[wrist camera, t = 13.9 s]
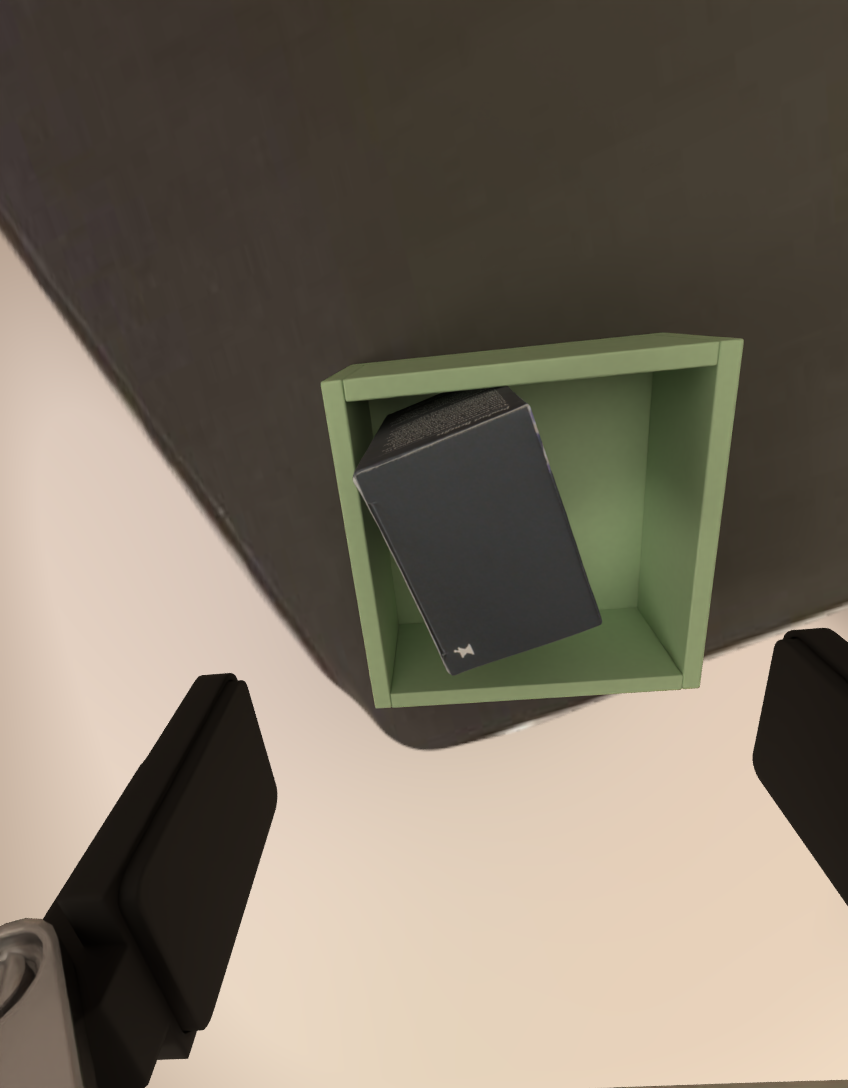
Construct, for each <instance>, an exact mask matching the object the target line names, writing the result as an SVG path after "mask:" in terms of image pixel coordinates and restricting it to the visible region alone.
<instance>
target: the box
mask: <svg viewBox="0 0 848 1088" xmlns="http://www.w3.org/2000/svg"><path fill="white" fill-rule="evenodd" d="M353 482H354V484H355V486H356V487H357V489H358V490H359V492H360V494H361V495H362V497H363V499H364V501H365V502H366V504H367V506H368V508H369V510H370V512H371V514H372V516H373V518H374V520H375V522H376V523H377V525H378V527H379V529H380V531H381V534H382V536H383V538H384V540H385V542H386V544H387V546H388V548H389V550H390V552H391V554H392V556H393V558H394V559H395V561H396V563H397V565H398V567H399V569H400V571H401V573H402V575H403V578H404V580H405V582H406V584H407V586H408V588H409V590H410V592H411V595H412V597H413V599H414V601H415V603H416V605H417V607H418V609H419V611H420V613H421V615H422V617H423V619H424V622H425V624H426V626H427V628H428V630H429V632H430V635H431V637H432V639H433V641H434V643H435V646H436V648H437V650H438V652H439V654H440V657H441V659H442V662H443V664H444V666H445V668H446V670H447V672H448V673H449V674H451V675H452V676H455V675H458V674H460V673H463V672H465V671H468V670H471V669H474V668H476V667H479V666H483V665H486V664H488V663H491V662H494V661H497V660H500V659H504V658H507V657H510V656H513V655H516V654H519V653H522V652H526V651H528V650H531V649H534V648H537V647H540V646H544V645H547V644H550V643H553V642H556V641H559V640H562V639H564V638H567V637H570V636H573V635H576V634H579V633H581V632H584V631H587V630H589V629H592V628H594V627H597V626H599V625H601V624H602V618H601V615H600V612H599V609H598V605H597V603H596V600H595V597H594V594H593V592H592V589H591V586H590V584H589V580H588V577H587V574H586V571H585V568H584V566H583V562H582V559H581V556H580V553H579V550H578V547H577V544H576V541H575V538H574V535H573V532H572V529H571V526H570V523H569V520H568V517H567V513H566V511H565V508H564V505H563V502H562V499H561V496H560V493H559V491H558V488H557V485H556V482H555V479H554V476H553V473H552V471H551V468H550V464H549V461H548V458H547V455H546V452H545V449H544V447H543V443H542V440H541V437H540V434H539V431H538V428H537V425H536V422H535V419H534V416H533V413H532V410H531V407H530V405H529V404H528V403H526V402H525V401H523V399H521V398H520V397H519V396H518V395H517V394H516V393H515V392H514V391H512V390H511V389H510V388H509V387H508V386H504V387H494V388H483V389H473V390H463V391H453V392H443V393H440V394H438V395H435V396H433V397H430V398H428V399H425V400H423V401H421V402H418V403H416V404H413V405H411V406H409V407H406V408H404V409H401V410H399V411H396V412H394V413H392V414H388V415H387V416H386V418H385V419H384V421H383V423H382V425H381V426H380V428H379V430H378V432H377V433H376V434H375V436H374V438H373V440H372V442H371V444H370V445H369V447H368V449H367V451H366V452H365V454H364V456H363V457H362V459H361V460H360V462H359V464H358V466H357V468H356V469H355V471H354V474H353Z"/></svg>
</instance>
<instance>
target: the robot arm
mask: <svg viewBox="0 0 848 1088" xmlns="http://www.w3.org/2000/svg"><path fill="white" fill-rule="evenodd" d="M753 766H754V769H755V772H756V774H757V776H758V778H759V780H760V781H761V782H762V784H763V785H764V787H765V788H766V790H767V791H768V793H769V794H770V795H771V797H772V798H773V800H774V801H775V803H776V804H777V805H778V807H779V808H780V810H781V811H782V812H783V814H784V815H785V817H786V818H787V820H788V821H789V823H790V824H791V825H792V827H793V828H794V830H795V831H796V833H797V834H798V835H799V837H800V838H801V839H802V841H803V843H804V844H805V845H806V847H807V848H808V850H809V851H810V852H811V854H812V855H813V857H814V858H815V860H816V861H817V862H818V864H819V865H820V867H821V868H822V870H823V871H824V873H825V874H826V876H827V877H828V878H829V880H830V881H831V883H832V884H833V886H834V887H835V888H836V890H837V891H838V893H839V894H840V896H841V897H842V898H843V900H844V901H845V903H846V904H847V906H848V642H847V641H845V640H844V639H843V638H842V637H841V636H839V635H838V634H837V633H835V632H834V631H832V630H831V629H828V628H816V629H803V630H791V631H788V632H787V633H786V634H785V635H784V638H783V640H779V641H777V642H776V644H775V646H774V651H773V656H772V661H771V666H770V671H769V676H768V681H767V686H766V691H765V696H764V701H763V706H762V711H761V716H760V721H759V726H758V731H757V736H756V741H755V746H754V751H753ZM276 804H277V787H276V783H275V780H274V777H273V773H272V769H271V766H270V762H269V759H268V756H267V752H266V749H265V746H264V742H263V738H262V735H261V731H260V728H259V725H258V721H257V718H256V714H255V711H254V707H253V704H252V700H251V697H250V693H249V690H248V687H247V684H246V683H245V681H243V680H240V681H238V680H237V678H236V676H235V675H234V674H232V673H225V674H212V675H202V676H199V677H198V678H197V679H196V680H195V682H194V683H193V685H192V686H191V688H190V690H189V691H188V693H187V695H186V696H185V698H184V699H183V701H182V702H181V704H180V706H179V707H178V709H177V710H176V712H175V714H174V715H173V717H172V718H171V720H170V721H169V723H168V725H167V726H166V728H165V729H164V731H163V733H162V734H161V736H160V737H159V739H158V741H157V742H156V744H155V745H154V747H153V749H152V750H151V752H150V753H149V755H148V756H147V758H146V759H145V760H144V762H143V763H142V764H141V765H140V767H139V768H138V770H137V771H136V773H135V775H134V776H133V778H132V779H131V781H130V782H129V784H128V786H127V787H126V789H125V790H124V792H123V794H122V795H121V797H120V798H119V800H118V801H117V803H116V804H115V806H114V808H113V809H112V811H111V812H110V814H109V816H108V817H107V819H106V820H105V822H104V823H103V825H102V827H101V828H100V830H99V831H98V833H97V835H96V836H95V838H94V839H93V841H92V842H91V844H90V845H89V847H88V849H87V850H86V852H85V853H84V855H83V857H82V858H81V860H80V861H79V863H78V865H77V866H76V868H75V869H74V871H73V872H72V874H71V876H70V877H69V879H68V880H67V882H66V884H65V885H64V887H63V888H62V890H61V891H60V893H59V895H58V896H57V898H56V899H55V901H54V902H53V904H52V906H51V907H50V909H49V910H48V912H47V913H46V915H45V917H44V918H43V920H42V919H32V918H31V919H30V918H25V919H20V920H17V921H13V922H9V923H6V924H4V925H2V926H0V1088H145V1087H146V1086H147V1085H148V1083H149V1081H150V1078H151V1075H152V1072H153V1070H154V1067H155V1064H156V1061H157V1060H163V1059H188V1057H189V1054H190V1051H191V1048H192V1045H193V1042H194V1038H195V1035H196V1032H197V1031H198V1030H204V1029H205V1028H206V1027H207V1025H208V1023H209V1022H210V1019H211V1017H212V1014H213V1011H214V1008H215V1005H216V1001H217V998H218V994H219V992H220V988H221V985H222V982H223V979H224V975H225V972H226V969H227V965H228V962H229V959H230V956H231V953H232V949H233V946H234V943H235V940H236V936H237V933H238V930H239V927H240V923H241V920H242V917H243V913H244V910H245V907H246V904H247V900H248V897H249V894H250V891H251V888H252V884H253V881H254V878H255V874H256V871H257V868H258V864H259V862H260V858H261V855H262V852H263V849H264V845H265V842H266V839H267V836H268V832H269V829H270V826H271V823H272V819H273V816H274V813H275V810H276ZM616 1088H848V1080H829V1081H794V1082H763V1083H761V1082H760V1083H730V1084H703V1085H674V1086H646V1087H645V1086H644V1087H616Z"/></svg>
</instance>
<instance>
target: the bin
mask: <svg viewBox="0 0 848 1088" xmlns="http://www.w3.org/2000/svg"><path fill="white" fill-rule="evenodd" d="M743 343H744V341H743V339H740V338H727V337H714V336H701V335H688V334H675V333H654V334H644V335H634V336H625V337H615V338H605V339H596V340H586V341H576V342H567V343H557V344H547V345H538V346H528V347H518V348H509V349H499V350H489V351H479V352H470V353H460V354H450V355H441V356H431V357H421V358H412V359H402V360H392V361H383V362H373V363H363V364H354V365H350V366H348V367H347V368H345V369H343V370H341V371H340V372H338V373H336V374H334V375H333V376H331V377H329V378H327V379H326V380H324V381H322V382H321V390H322V395H323V401H324V407H325V413H326V419H327V425H328V431H329V437H330V443H331V449H332V455H333V460H334V466H335V472H336V478H337V484H338V490H339V496H340V502H341V508H342V514H343V520H344V526H345V531H346V537H347V543H348V549H349V555H350V561H351V567H352V573H353V579H354V585H355V591H356V596H357V602H358V608H359V614H360V620H361V626H362V632H363V638H364V644H365V650H366V656H367V661H368V667H369V673H370V679H371V685H372V691H373V697H374V703H375V707H376V708H389V707H393V708H395V707H411V706H427V705H443V704H459V703H475V702H491V701H507V700H523V699H539V698H555V697H571V696H587V695H603V694H619V693H635V692H650V691H667V690H681V689H682V688H683V689H692V688H699V687H700V680H701V672H702V665H703V657H704V649H705V641H706V633H707V625H708V618H709V610H710V602H711V594H712V586H713V578H714V570H715V563H716V555H717V547H718V539H719V531H720V523H721V516H722V508H723V500H724V492H725V484H726V476H727V469H728V461H729V453H730V445H731V437H732V429H733V422H734V414H735V406H736V398H737V390H738V382H739V375H740V367H741V359H742V351H743ZM504 386H508V387H509V388H510V389H511V390H512V391H514V392H515V393H516V394H517V395H518V396H519V397H520V398H521V399H523V401H525V402H526V403H528V404H529V405H530V407H531V410H532V413H533V416H534V419H535V422H536V425H537V428H538V431H539V434H540V437H541V440H542V443H543V447H544V449H545V452H546V455H547V458H548V461H549V464H550V468H551V471H552V473H553V476H554V479H555V482H556V485H557V488H558V491H559V493H560V496H561V499H562V502H563V505H564V508H565V511H566V513H567V517H568V520H569V523H570V526H571V529H572V532H573V535H574V538H575V541H576V544H577V547H578V550H579V553H580V556H581V559H582V562H583V566H584V568H585V571H586V574H587V577H588V580H589V584H590V586H591V589H592V592H593V594H594V597H595V600H596V603H597V605H598V609H599V612H600V615H601V618H602V624H601V625H599V626H597V627H594V628H592V629H589V630H587V631H584V632H581V633H579V634H576V635H573V636H570V637H567V638H564V639H562V640H559V641H556V642H553V643H550V644H547V645H544V646H540V647H537V648H534V649H531V650H528V651H526V652H522V653H519V654H516V655H513V656H510V657H507V658H504V659H500V660H497V661H494V662H491V663H488V664H486V665H483V666H479V667H476V668H474V669H471V670H468V671H465V672H463V673H460V674H458V675H455V676H452V675H451V674H449V673H448V672H447V670H446V668H445V666H444V664H443V662H442V659H441V657H440V654H439V652H438V650H437V648H436V646H435V643H434V641H433V639H432V637H431V635H430V632H429V630H428V628H427V626H426V624H425V622H424V619H423V617H422V615H421V613H420V611H419V609H418V607H417V605H416V603H415V601H414V599H413V597H412V595H411V592H410V590H409V588H408V586H407V584H406V582H405V580H404V578H403V575H402V573H401V571H400V569H399V567H398V565H397V563H396V561H395V559H394V558H393V556H392V554H391V552H390V550H389V548H388V546H387V544H386V542H385V540H384V538H383V536H382V534H381V531H380V529H379V527H378V525H377V523H376V522H375V520H374V518H373V516H372V514H371V512H370V510H369V508H368V506H367V504H366V502H365V501H364V499H363V497H362V495H361V494H360V492H359V490H358V489H357V487H356V486H355V484H354V482H353V474H354V471H355V469H356V468H357V466H358V464H359V462H360V460H361V459H362V457H363V456H364V454H365V452H366V451H367V449H368V447H369V445H370V444H371V442H372V440H373V438H374V436H375V434H376V433H377V432H378V430H379V428H380V426H381V425H382V423H383V421H384V419H385V418H386V416H387V415H388V414H392V413H394V412H396V411H399V410H401V409H404V408H406V407H409V406H411V405H413V404H416V403H418V402H421V401H423V400H425V399H428V398H430V397H433V396H435V395H438V394H440V393H443V392H453V391H463V390H473V389H483V388H494V387H504Z"/></svg>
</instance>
